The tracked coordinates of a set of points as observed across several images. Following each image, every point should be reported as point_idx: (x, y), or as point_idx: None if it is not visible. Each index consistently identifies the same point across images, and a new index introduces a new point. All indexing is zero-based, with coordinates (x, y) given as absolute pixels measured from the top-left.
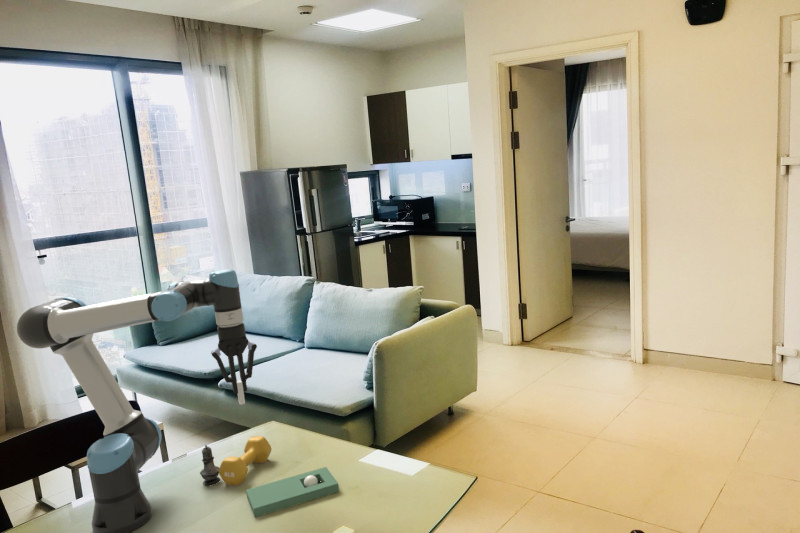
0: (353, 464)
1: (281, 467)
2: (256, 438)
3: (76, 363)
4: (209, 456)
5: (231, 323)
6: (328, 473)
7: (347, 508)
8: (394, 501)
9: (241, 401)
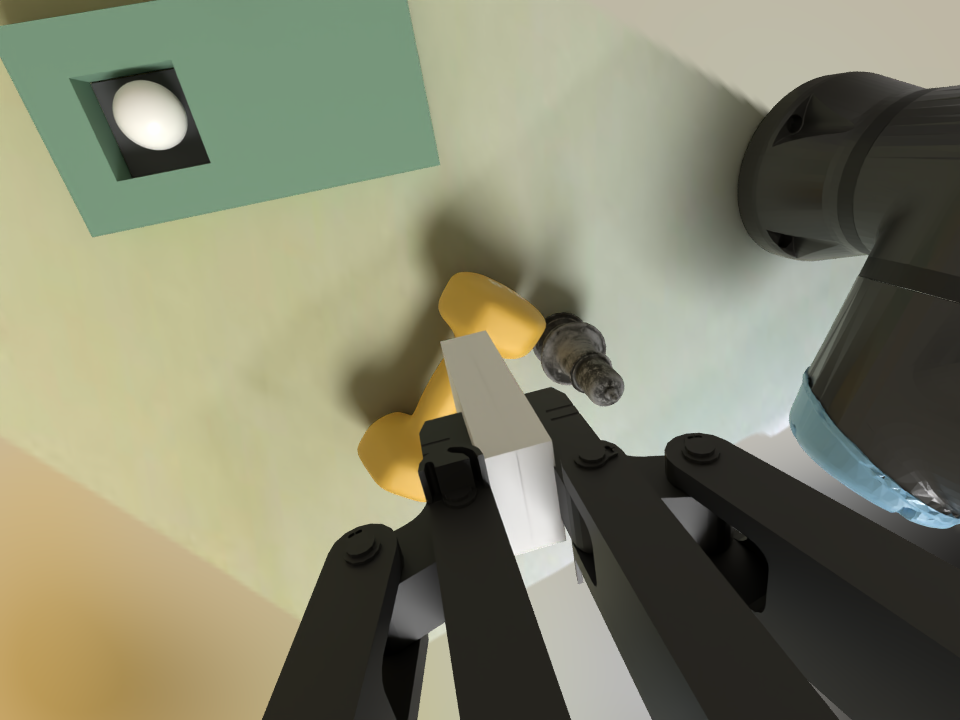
0: None
1: (321, 359)
2: (411, 477)
3: None
4: (590, 365)
5: None
6: (66, 164)
7: None
8: None
9: (475, 343)
